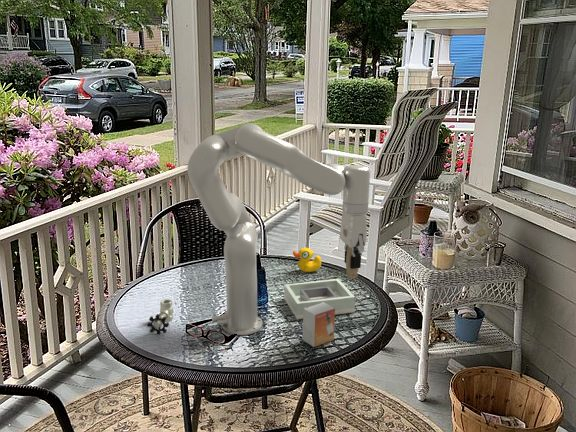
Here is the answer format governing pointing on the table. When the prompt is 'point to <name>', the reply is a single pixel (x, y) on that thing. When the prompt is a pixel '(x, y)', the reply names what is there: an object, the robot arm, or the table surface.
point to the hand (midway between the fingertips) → (352, 264)
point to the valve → (162, 317)
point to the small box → (318, 324)
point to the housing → (319, 296)
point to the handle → (350, 272)
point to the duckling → (307, 260)
